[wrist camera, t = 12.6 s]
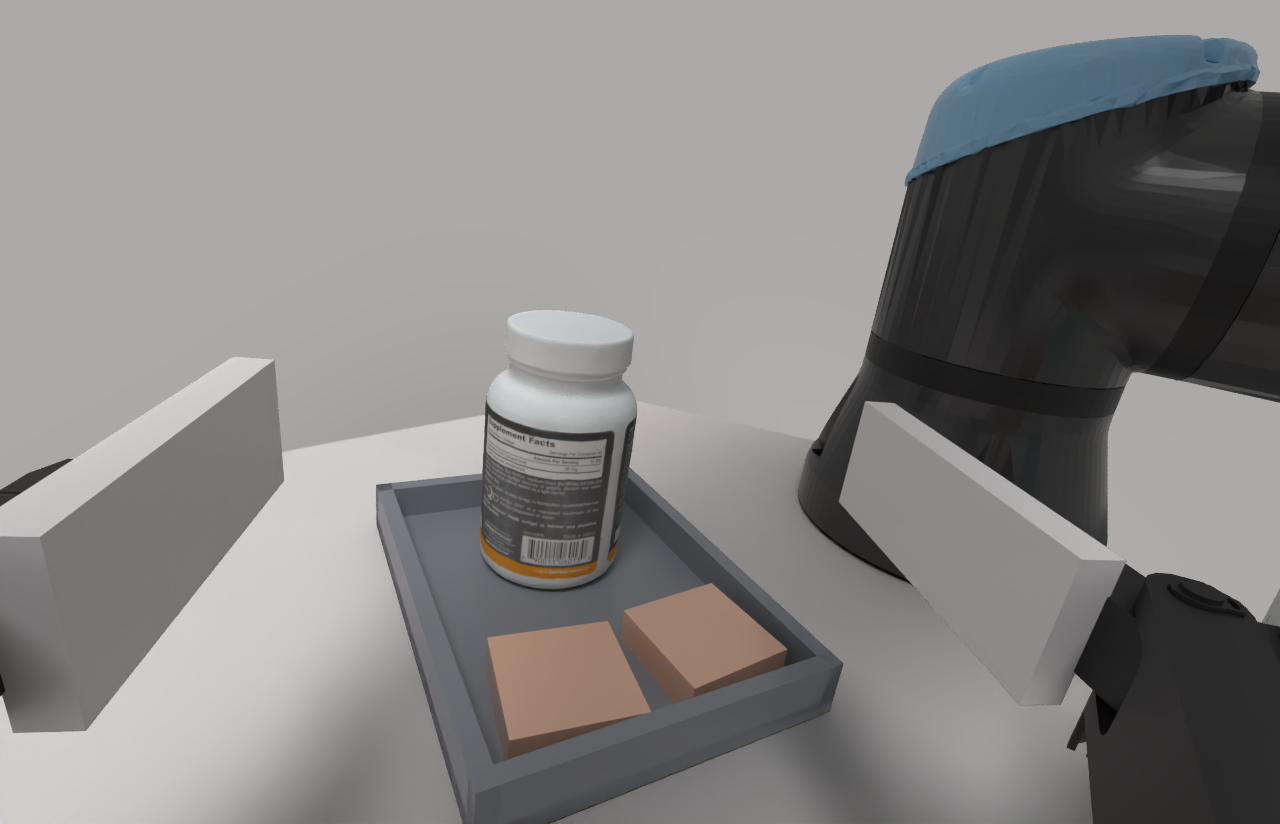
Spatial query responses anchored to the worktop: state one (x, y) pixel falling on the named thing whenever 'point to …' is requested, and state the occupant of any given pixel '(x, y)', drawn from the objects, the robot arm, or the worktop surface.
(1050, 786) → the worktop surface
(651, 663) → the tile
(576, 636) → the tile
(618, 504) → the pill bottle
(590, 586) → the tray
